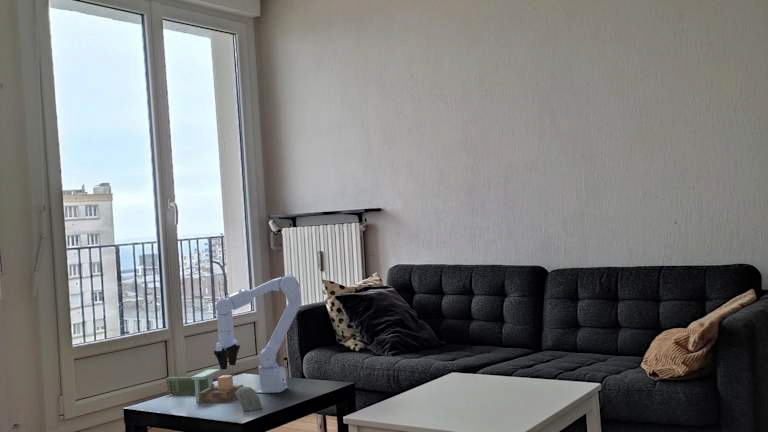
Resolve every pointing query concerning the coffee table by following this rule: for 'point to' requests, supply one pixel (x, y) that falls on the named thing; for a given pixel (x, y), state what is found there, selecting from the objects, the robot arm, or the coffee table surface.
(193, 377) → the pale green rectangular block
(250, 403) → the mineral specimen
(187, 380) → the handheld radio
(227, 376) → the tan peg
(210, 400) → the socket plate
